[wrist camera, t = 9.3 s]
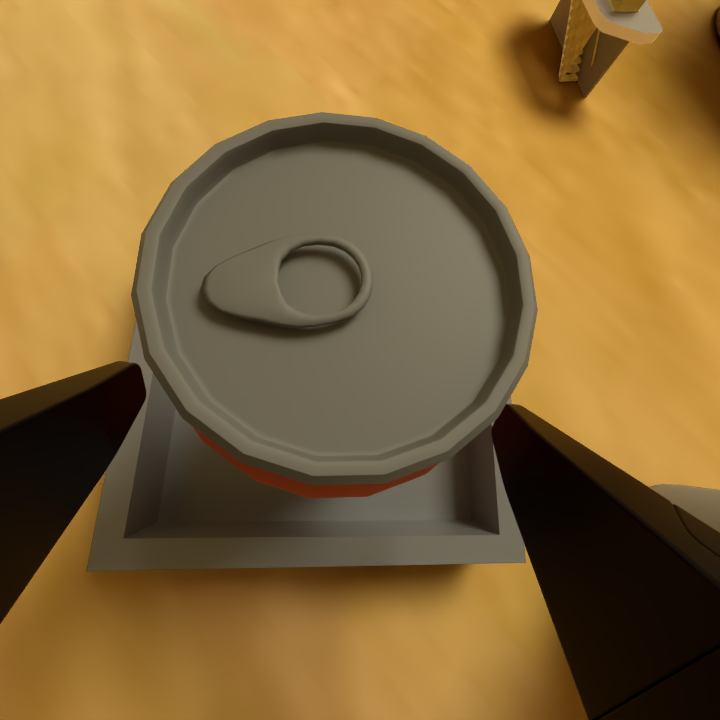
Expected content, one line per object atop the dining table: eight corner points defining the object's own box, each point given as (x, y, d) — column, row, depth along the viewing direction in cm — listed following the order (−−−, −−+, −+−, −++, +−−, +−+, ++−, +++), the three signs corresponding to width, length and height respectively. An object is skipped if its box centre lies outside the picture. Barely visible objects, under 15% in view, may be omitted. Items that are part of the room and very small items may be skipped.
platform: (522, 164, 23) (599, 59, 16) (452, -18, 27) (494, -161, 20) (662, 151, 25) (779, 52, 18) (579, -18, 28) (653, -148, 22)
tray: (482, 536, 16) (525, 562, 13) (140, 540, 14) (86, 571, 11) (467, 280, 20) (497, 247, 16) (187, 258, 18) (156, 216, 14)
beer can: (254, 336, 16) (84, 82, 5) (382, 321, 17) (507, 78, 6) (267, 474, 15) (74, 602, 3) (406, 448, 16) (640, 477, 4)
